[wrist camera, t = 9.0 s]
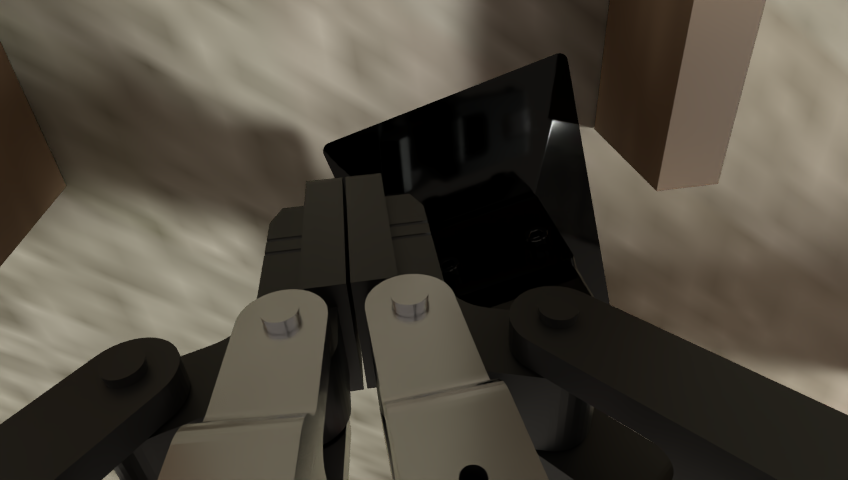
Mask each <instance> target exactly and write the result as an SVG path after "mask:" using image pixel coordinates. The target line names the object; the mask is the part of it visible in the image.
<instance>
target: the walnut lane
mask: <svg viewBox="0 0 848 480" xmlns="http://www.w3.org/2000/svg"><path fill="white" fill-rule="evenodd" d="M765 2H766V0H610V2H609V10H608V19H607V27H606V35H605V44H604V52H603V61H602V69H601V78H600V86H599V94H598V103H597V111H596V120H595V128H594V129H595V130H596V131H597V132H598V133H599V134H600V135H601V136H602V137H603V138H604V139H605V140H606V141H607V142H608V143H609V144H610V145H611V146H612V147H613V148H614V149H615V150H616V151H617V152H618V153H619V154H620V155H621V156H622V157H623V158H624V159H625V160H626V161H627V162H628V163H629V164H630V165H631V166H632V167H633V168H634V169H635V170H636V171H637V172H638V173H639V174H640V175H641V176H642V177H643V178H644V179H645V180H646V181H647V182H648V183H649V184H650V185H651V186H652V187H653V188H654V189H655V190H656V191H661V190H669V189H678V188H686V187H694V186H703V185H711V184H718V181H719V178H720V174H721V170H722V166H723V162H724V158H725V155H726V151H727V147H728V143H729V139H730V136H731V132H732V128H733V124H734V120H735V117H736V113H737V109H738V105H739V101H740V97H741V94H742V90H743V86H744V82H745V78H746V75H747V71H748V67H749V63H750V59H751V55H752V52H753V48H754V44H755V40H756V36H757V33H758V29H759V25H760V21H761V17H762V13H763V10H764V6H765ZM65 187H66V184H65V182H64V180H63V178H62V176H61V173H60V171H59V169H58V167H57V165H56V162H55V160H54V158H53V156H52V154H51V151H50V149H49V147H48V145H47V143H46V141H45V138H44V136H43V134H42V132H41V130H40V127H39V125H38V123H37V121H36V119H35V116H34V114H33V112H32V110H31V108H30V106H29V103H28V101H27V99H26V97H25V95H24V92H23V90H22V88H21V86H20V84H19V81H18V79H17V77H16V75H15V73H14V70H13V68H12V66H11V64H10V62H9V60H8V57H7V55H6V53H5V51H4V49H3V46H2V44H1V42H0V266H1V265H2V264H3V263H4V261H5V260H6V259H7V258H8V257H9V255H10V254H11V253H12V252H13V251H14V249H15V248H16V247H17V246H18V244H19V243H20V242H21V241H22V240H23V238H24V237H25V236H26V235H27V233H28V232H29V231H30V230H31V229H32V227H33V226H34V225H35V224H36V223H37V221H38V220H39V219H40V218H41V216H42V215H43V214H44V213H45V212H46V210H47V209H48V208H49V207H50V206H51V204H52V203H53V202H54V201H55V199H56V198H57V197H58V196H59V195H60V193H61V192H62V191H63V190H64V189H65Z"/></svg>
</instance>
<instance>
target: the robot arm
mask: <svg viewBox="0 0 848 480" xmlns="http://www.w3.org/2000/svg"><path fill="white" fill-rule="evenodd" d="M345 180H346V194H345V187H344V181H343V178H333V179H324V180H315V181H307V182H306V189H305V202H304V206H300V207H291V208H283V209H282V210H281V211H280V212H279V213H278V215H277V216H276V217H275V218H274V219H273V220H272V221H271V223H270V225H269V231H268V237H267V243H266V248H265V256H264V260H263V266H262V272H261V278H260V284H259V290H258V296H257V299H256V300H254V301H253V302H251V303H250V304H249V305H247V306H246V307H245V308H244V309H243V310H242V311H241V313H240V314H239V315H238V317H237V319H236V321H235V324H234V327H233V331H232V334H231V336H230V337H228V338H226V339H224V340H222V341H220V342H218V343H216V344H213V345H211V346H208V347H205V348H203V349H200V350H197V351H194V352H192V353H189V354H186V355H183V356H180V354H179V352H178V350H177V348H176V347H175V346H174V345H173V344H172V343H170V342H169V341H166V340H163V339H159V338H139V339H134V340H129V341H126V342H123V343H120V344H118V345H115V346H113V347H111V348H109V349H107V350H105V351H103V352H102V353H100V354H99V355H97V356H95V357H94V358H93V359H91V360H90V361H88V362H87V363H86V364H84V365H83V366H81V367H80V368H79V369H77V370H76V371H74V372H73V373H72V374H70V375H69V376H67V377H66V378H65V379H63V380H62V381H60V382H59V383H58V384H56V385H55V386H53V387H52V388H51V389H49V390H48V391H46V392H45V393H44V394H42V395H41V396H39V397H38V398H37V399H35V400H34V401H32V402H31V403H30V404H28V405H27V406H25V407H24V408H23V409H21V410H20V411H18V412H17V413H16V414H14V415H13V416H11V417H10V418H9V419H7V420H6V421H4V422H3V423H2V424H0V480H102V479H103V478H104V477H105V476H106V475H108V474H109V473H110V472H111V471H112V470H113V469H114V470H115V472H116V474H117V475H118V477H119V479H120V480H349V463H350V444H351V426H350V421H349V418H350V414H351V398H350V391H356V390H363V389H364V386H363V370H362V357H363V363H364V370H365V376H366V382H367V388H375V387H377V393H378V400H379V406H380V414H381V420H382V427H383V433H384V438H385V443H386V449H387V454H388V459H389V465H390V470H391V475H392V480H848V415H846V414H844V413H842V412H840V411H838V410H835V409H833V408H831V407H829V406H827V405H825V404H822V403H820V402H818V401H816V400H814V399H812V398H809V397H807V396H805V395H803V394H801V393H799V392H797V391H794V390H792V389H790V388H788V387H786V386H784V385H781V384H779V383H777V382H775V381H773V380H771V379H768V378H766V377H764V376H762V375H760V374H758V373H756V372H753V371H751V370H749V369H747V368H745V367H743V366H740V365H738V364H736V363H734V362H732V361H730V360H728V359H725V358H723V357H721V356H719V355H717V354H715V353H712V352H710V351H708V350H706V349H704V348H702V347H699V346H697V345H695V344H693V343H691V342H689V341H687V340H684V339H682V338H680V337H678V336H676V335H674V334H671V333H669V332H667V331H665V330H663V329H661V328H658V327H656V326H654V325H652V324H650V323H648V322H646V321H643V320H641V319H639V318H637V317H635V316H633V315H630V314H628V313H626V312H624V311H622V310H620V309H617V308H615V307H613V306H611V305H609V304H607V303H605V302H602V301H600V300H598V299H596V298H594V297H592V296H589V295H587V294H585V293H583V292H580V291H578V290H575V289H571V288H568V287H561V286H543V287H537V288H534V289H530V290H528V291H526V292H524V293H522V294H521V295H519V296H518V297H517V298H516V299H515V300H514V301H513V303H512V305H511V307H510V310H505V309H495V308H486V307H480V306H476V305H472V304H470V303H467V302H465V301H463V300H461V299H459V298H458V297H456V296H455V295H454V293H453V291H452V289H451V288H450V287H449V286H448V285H447V284H446V283H445V282H444V279H443V276H442V272H441V268H440V265H439V261H438V257H437V254H436V250H435V246H434V243H433V239H432V235H431V232H430V228H429V224H428V222H427V217H426V213H425V210H424V206H423V205H422V204H421V203H420V202H419V201H418V200H416V199H415V198H414V197H413V196H412V195H411V194H402V195H394V196H385V195H384V189H383V183H382V177H381V173H376V174H367V175H358V176H350V177H345ZM361 351H362V354H361ZM597 409H598V410H597ZM599 410H600V411H599ZM602 412H603V413H602ZM604 413H605V414H604ZM607 415H608V416H607ZM609 416H610V417H609ZM614 419H615V420H614ZM619 422H620V423H619ZM621 423H622V424H621ZM624 425H625V426H624ZM626 426H627V427H626ZM629 428H630V429H629ZM631 429H632V430H631ZM634 431H635V432H634ZM636 432H637V433H636ZM641 435H642V436H641ZM646 438H647V439H646ZM648 439H649V440H648ZM651 441H652V442H651Z"/></svg>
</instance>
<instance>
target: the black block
mask: <svg viewBox="0 0 848 480" xmlns="http://www.w3.org/2000/svg"><path fill="white" fill-rule="evenodd" d="M323 153H324V156H325V158H326V160H327V162H328V164H329V166H330V168H331V171H332V173H333V175H334V177H335V178H343V181H344V187H345V194H346V180H345V177H350V176H358V175H367V174H376V173H381V177H382V183H383V189H384V195H385V196H394V195H402V194H411V195H412V196H413V197H414V198H415V199H416V200H418V201H419V202H420V203H421V204H422V205H423V206H424V210H425V213H426V217H427V222H428V224H429V228H430V232H431V235H432V239H433V243H434V246H435V250H436V254H437V257H438V261H439V265H440V268H441V272H442V276H443V279H444V282H445V283H446V284H447V285H448V286H449V287H450V288H451V289H452V291H453V293H454V295H455V296H456V297H458V298H459V299H461V300H463V301H465V302H467V303H470V304H472V305H476V306H480V307H486V308H495V309H505V310H510V307H511V305H512V303H513V301H514V300H515V299H516V298H517V297H518V296H519V295H521V294H522V293H524V292H526V291H528V290H530V289H534V288H537V287H543V286H561V287H568V288H571V289H575V290H578V291H580V292H583V293H585V294H587V295H589V296H592V297H594V298H596V299H598V300H600V301H602V302H605V303H607V304H609V298H608V292H607V286H606V280H605V274H604V269H603V263H602V257H601V251H600V245H599V240H598V234H597V228H596V222H595V216H594V210H593V205H592V199H591V193H590V187H589V181H588V176H587V170H586V164H585V158H584V152H583V146H582V141H581V135H580V129H579V123H578V117H577V111H576V106H575V100H574V94H573V88H572V82H571V77H570V71H569V65H568V59H567V57H566V56H565V55H564V54H561V53H558V54H555V55H552V56H550V57H547V58H545V59H542V60H540V61H537V62H534V63H532V64H529V65H527V66H524V67H522V68H519V69H517V70H514V71H511V72H509V73H506V74H504V75H501V76H499V77H496V78H494V79H491V80H488V81H486V82H483V83H481V84H478V85H476V86H473V87H471V88H468V89H466V90H463V91H460V92H458V93H455V94H453V95H450V96H448V97H445V98H443V99H440V100H437V101H435V102H432V103H430V104H427V105H425V106H422V107H420V108H417V109H414V110H412V111H409V112H407V113H404V114H402V115H399V116H397V117H394V118H391V119H389V120H386V121H384V122H381V123H379V124H376V125H374V126H371V127H368V128H366V129H363V130H361V131H358V132H356V133H353V134H351V135H348V136H346V137H343V138H340V139H338V140H335V141H333V142H330V143H328V144H326V145H325V147H324V149H323ZM609 305H610V304H609ZM597 410H598V409H597ZM599 411H600V410H599ZM602 413H603V412H602ZM604 414H605V413H604ZM607 416H608V415H607Z"/></svg>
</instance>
